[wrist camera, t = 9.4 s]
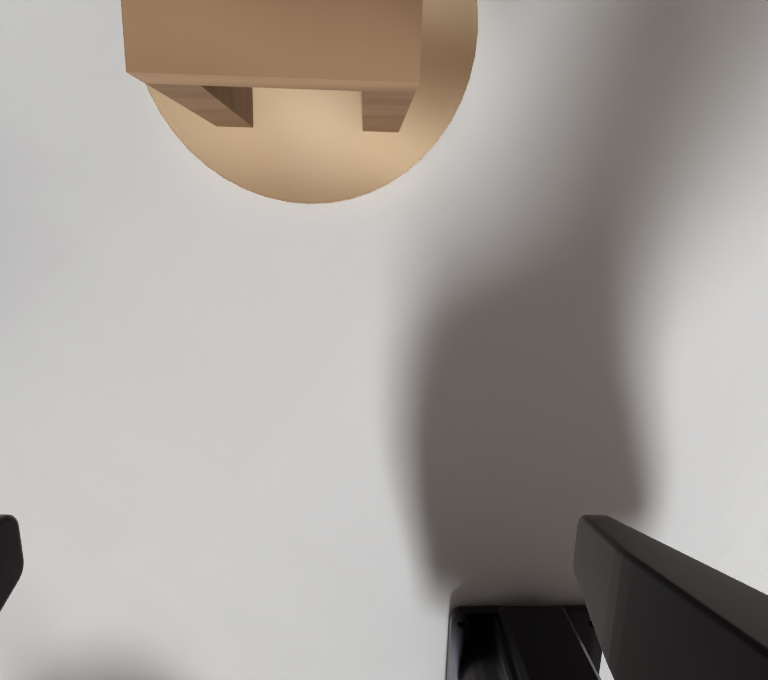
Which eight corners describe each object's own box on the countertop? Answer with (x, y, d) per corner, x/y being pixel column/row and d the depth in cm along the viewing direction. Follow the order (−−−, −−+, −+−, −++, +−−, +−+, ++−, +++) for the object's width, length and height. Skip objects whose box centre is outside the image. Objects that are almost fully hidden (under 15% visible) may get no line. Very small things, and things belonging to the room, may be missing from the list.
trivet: (464, 207, 19) (468, 206, 19) (150, 200, 19) (143, 199, 18) (484, -157, 17) (488, -171, 16) (123, -176, 16) (114, -190, 16)
